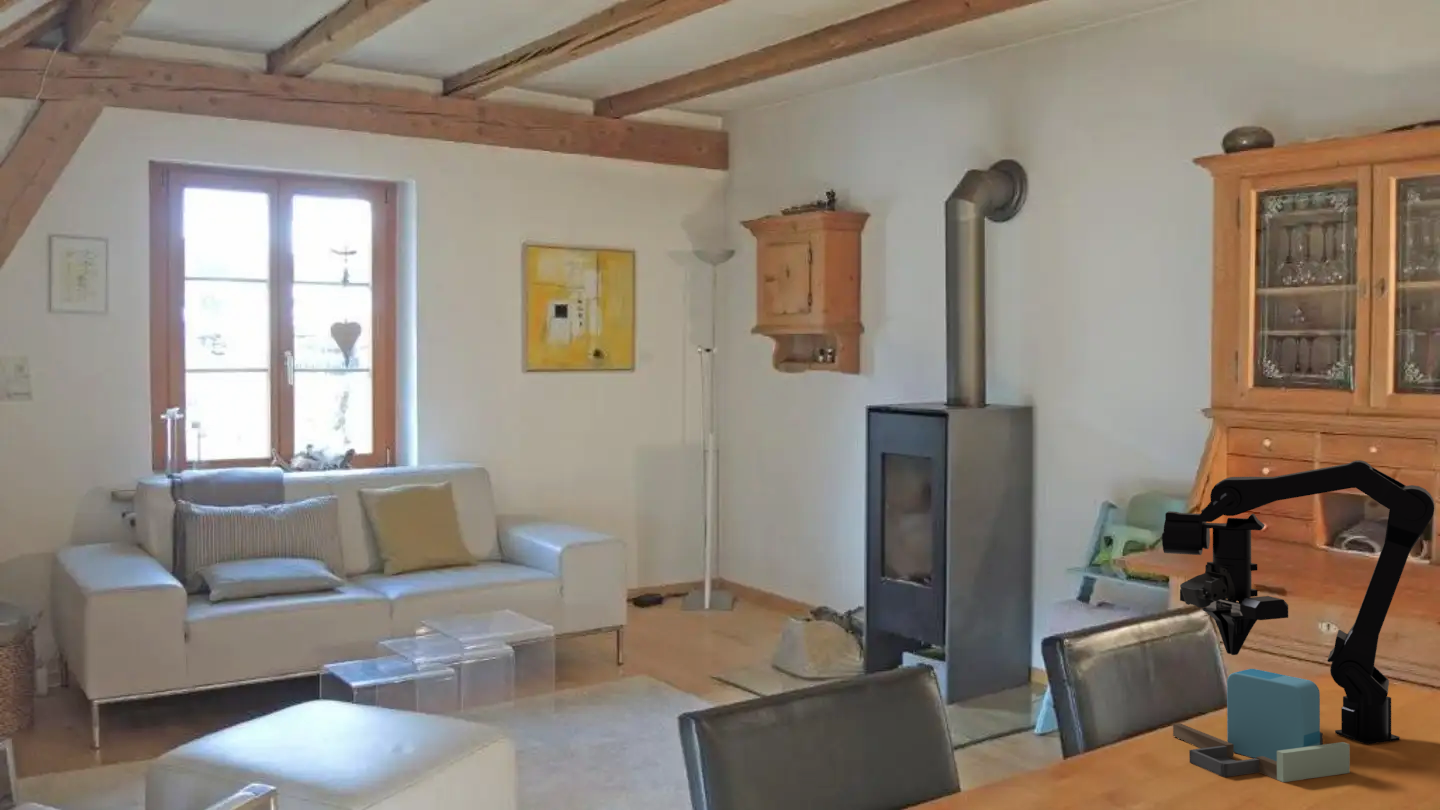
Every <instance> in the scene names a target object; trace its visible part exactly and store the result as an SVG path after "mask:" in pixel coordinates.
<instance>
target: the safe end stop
mask: <svg viewBox="0 0 1440 810" xmlns="http://www.w3.org/2000/svg"><path fill="white" fill-rule="evenodd" d="M1350 752H1351V751H1350V743H1347V742H1344V741H1341V742H1340V741H1339V742H1333V743H1324V744H1323V745H1317V746H1309V747H1302V748H1294V749H1287V750H1279V751H1277V779H1276V781H1279V782H1282V783H1288V782H1294V781H1300V780H1301V781H1302V780H1307V779H1308V780H1309V779H1315V778H1323V777H1329V776H1336V775H1337V776H1338V775H1343V774H1350V772H1351V771H1350V770H1351V769H1350V766H1351V763H1350V760H1351V759H1350V755H1351V754H1350Z"/></svg>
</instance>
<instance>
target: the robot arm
mask: <svg viewBox="0 0 1440 810" xmlns="http://www.w3.org/2000/svg"><path fill="white" fill-rule="evenodd" d="M1347 489H1356V490H1358V491H1360V492H1362V493H1364V494H1365V495H1366V496H1368V497H1369V498H1370V499H1372V500H1373V501H1376V502H1377V503H1378V504H1379V505H1382V506H1383V507H1384V508H1386V509H1388V511H1389V512H1388V518H1387V525H1386V529H1385V531H1386V532H1385V537H1384V541H1383V542H1384V543H1383V545H1382V548H1381V551H1380V554H1379V556H1378V559H1377V561H1376V564H1375V567H1374V570H1373V573H1372V575H1371V577H1370V581H1369V583H1368V586H1367V589H1366V591H1365V594H1364V597H1363V600H1362V603H1361V604H1360V608H1359V611H1358V613H1357V616H1356V619H1355V621H1354V622H1353V625H1352V626H1351V627H1350V629H1349V631H1348V633H1346V632H1345V631H1342V630H1341V629H1339V630H1337V634H1336V636H1335V637H1336V638H1335V643H1334V646H1333V648H1332V649H1331V650H1330V651H1329V654H1328V657H1327V663H1331V665H1330V667H1329V668H1330V675H1331V678H1332V680H1333V681H1334V682H1335V684H1336V685H1337V686H1339V687H1340V688H1342V689H1343V690H1344V692H1345V695H1343V696H1342V706H1341V708H1340V709H1341V710H1340V711H1341V714H1340V715H1341V721H1340V722H1341V729H1336V730H1334V733H1335V734H1336V735H1338V736H1341V737H1344V738H1347V739H1350V740H1353V741H1356V742H1358V743H1361V744H1365V745H1375V744H1381V743H1389V742H1396V741H1401V739H1400V736H1399V735H1396V734H1392V697H1391V696H1388V695H1389V685H1390V680H1389V678H1388V677H1387V676H1385V675H1384V674H1383V673H1382V672H1381V671H1380V670H1379V668H1377V667H1376V666H1375V662H1376V656H1377V649H1378V643H1379V637H1380V632H1381V630H1382V627H1383V624H1384V622H1385V619H1386V617H1387V614H1388V611H1389V610H1390V609H1389V608H1390V606H1391V603H1392V601H1393V599H1394V595H1395V592H1396V590H1397V588H1398V586H1399V585H1398V584H1399V582H1400V579H1401V577H1402V574H1403V571H1404V569H1405V565H1406V563H1407V560H1408V558H1409V555H1410V552H1411V551H1412V549H1413V548H1414V546H1415V545H1416V543H1418V540H1419V539H1420V537H1421V536H1422V535H1423V533H1424V531H1425V529H1426V528H1427V526H1428V525H1429V523H1430V521H1431V520H1432V518H1433V516H1434V513H1435V501H1434V498H1433V496H1432V494H1431V493H1430V492H1429V491H1428V490H1427V489H1425V488H1424V487H1422V486H1419V485H1415V484H1414V485H1412V484H1410V485H1405V484H1404V483H1403V482H1400V481H1399V480H1397V479H1395V478H1393V477H1391V476H1390V475H1388V474H1385V473H1384V472H1382V471H1380V470H1378V469H1376V468H1375V467H1373V466H1372V465H1371V464H1370V463H1368V462H1367V461H1364V460H1361V459H1360V460H1357V459H1356V460H1353V461H1351V462H1349V463H1344V464H1343V463H1342V464H1338V465H1334V466H1333V465H1332V466H1327V467H1321V468H1317V469H1316V468H1315V469H1310V470H1305V471H1299V472H1293V473H1289V474H1282V475H1275V476H1230V477H1227V478H1224V479H1222V480H1220V481H1219V482H1217V483H1216V484H1215V485H1214V486H1213V488H1212V489H1211V491H1210V494H1209V496H1210V502H1209V503H1208V504H1207V505H1206V506H1205V507H1204V508H1202V509H1201V510H1200V512H1201V513H1192V512H1188V513H1187V512H1178V511H1170V510H1169V511H1167V512H1166V513H1165V515H1164V518H1165V520H1164V525H1163V532H1162V534H1161V541H1162V542H1161V543H1162V545H1161V546H1162V551H1163V553H1164V554H1172V555H1173V554H1177V555H1193V556H1194V555H1197V556H1202V554H1203V550H1209V548H1210V543H1211V542H1210V541H1211V533H1210V532H1211V531H1210V529H1212V561H1207V562H1206V564H1205V570H1204V571H1205V572H1203V573H1201V574H1198V575H1196V576H1193V577H1192V578H1190V579H1188V580H1186V581H1184V582H1182V583H1180V584H1179V587H1180V589H1179V601H1180V602H1184V603H1185V604H1186V605H1192V606H1196V607H1197V608H1200V609H1202V612H1204V613H1207V614H1208V616H1210V617H1211V618H1213V620H1214V621H1215V624H1216V626H1217V628H1218V631H1219V635H1220V637H1221V640H1222V643H1223V645H1224V648H1225V651H1226V652H1225V653H1226V654H1228V655H1231V656H1238V655H1239V653H1240V651H1241V649H1242V647H1243V645H1244V643H1245V642H1246V640H1247V638H1248V636H1249V635H1250V632H1251V631H1252V629H1253V627H1254V626H1255V624H1256V622H1257V621H1266V620H1277V619H1289V604H1288V602H1286V600H1285V599H1283V598H1279V597H1274V596H1269V595H1266V596H1265V595H1263V596H1258V594H1259V593H1258V589H1255V588H1252V572H1253V571H1256V572H1257V571H1258V564H1257V563H1253V562H1252V531H1262V530H1263V529H1264V528H1265V523H1263V522H1262V521H1260V520H1259V519H1258V518H1257V516H1256V515H1255V513H1252V514H1250V515H1249V516H1248V517H1247V518H1246V517H1245V518H1242V517H1240V518H1239V517H1234V516H1238V515H1240V514H1244V513H1247V512H1249V511H1252V510H1255V509H1258V508H1260V507H1263V506H1265V505H1267V504H1271V503H1275V502H1277V501H1282V500H1284V501H1285V500H1289V499H1294V498H1302V497H1306V496H1313V495H1318V494H1324V493H1331V492H1335V491H1336V492H1337V491H1342V490H1347ZM1223 516H1226V517H1228V518H1227V520H1226V523H1225V522H1222V523H1220V522H1219V523H1218V522H1214V521H1216V520H1217V519H1219V518H1220V517H1223Z"/></svg>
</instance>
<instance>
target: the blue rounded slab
mask: <svg viewBox="0 0 1440 810" xmlns="http://www.w3.org/2000/svg"><path fill="white" fill-rule="evenodd" d="M1320 694H1321V692H1320V689H1319V687H1318V685H1317V684H1316V683H1315V682H1314V681H1312V680H1310V679H1305V678H1300V677H1295V676H1289V675H1286V674H1281V673H1275V672H1271V671H1265V670H1262V669H1256V668H1247V669H1244V670H1239V671H1235V672H1232V673H1230V674H1229V675H1228V677H1227V680H1226V703H1227V704H1226V707H1227V708H1226V709H1227V713H1226V717H1227V718H1226V719H1227V720H1226V723H1227V724H1226V725H1227V729H1226V730H1227V735H1226V737H1227V741H1226V742H1229V743H1231V744H1234V754H1237V755H1240V754H1241V756H1245V757H1247V758H1251V759H1255V758H1256V757H1260V756H1264V757H1267V758H1269V759H1272V760H1274V761H1277V751H1279V750H1287V749H1294V748H1302V747H1309V746H1317V745H1320V732H1321V702H1320V701H1321V697H1320Z"/></svg>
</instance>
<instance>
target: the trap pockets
mask: <svg viewBox="0 0 1440 810" xmlns="http://www.w3.org/2000/svg"><path fill="white" fill-rule="evenodd" d="M1323 737H1324V735H1323V732H1321V731H1320V745H1324V744H1323V743H1324V738H1323ZM1188 751H1189V763H1190V764H1192V765H1195V766H1197V767H1200V768H1201V769H1204V770H1206V771H1208V772H1210V773H1214V774H1216V775H1218V776H1221V777H1223V778H1228V777H1235V776H1241V775H1242V776H1243V775H1251V774H1257V773H1260V772H1259V759H1256V758H1249V759H1241V760H1235V759H1234V758H1228V757H1227V747H1226V746H1216V747H1208V748H1195V749H1189V750H1188Z"/></svg>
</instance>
